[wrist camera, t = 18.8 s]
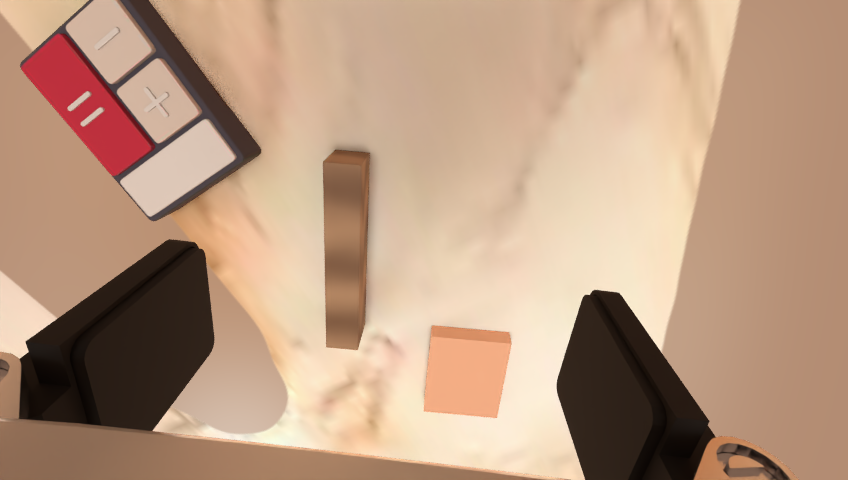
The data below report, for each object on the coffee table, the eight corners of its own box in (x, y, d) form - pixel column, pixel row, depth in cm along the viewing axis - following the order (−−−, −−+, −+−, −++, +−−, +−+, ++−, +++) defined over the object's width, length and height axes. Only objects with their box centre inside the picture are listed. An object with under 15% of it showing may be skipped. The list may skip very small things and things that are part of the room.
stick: (336, 149, 38) (323, 162, 34) (370, 152, 38) (361, 165, 34) (336, 319, 46) (326, 347, 41) (365, 322, 46) (357, 350, 41)
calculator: (103, -24, 30) (242, 161, 34) (145, -14, 34) (264, 151, 38) (6, 65, 33) (145, 226, 37) (55, 65, 37) (176, 211, 41)
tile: (431, 336, 43) (423, 411, 48) (511, 343, 43) (496, 418, 47) (432, 323, 45) (424, 395, 50) (508, 329, 45) (494, 402, 50)
